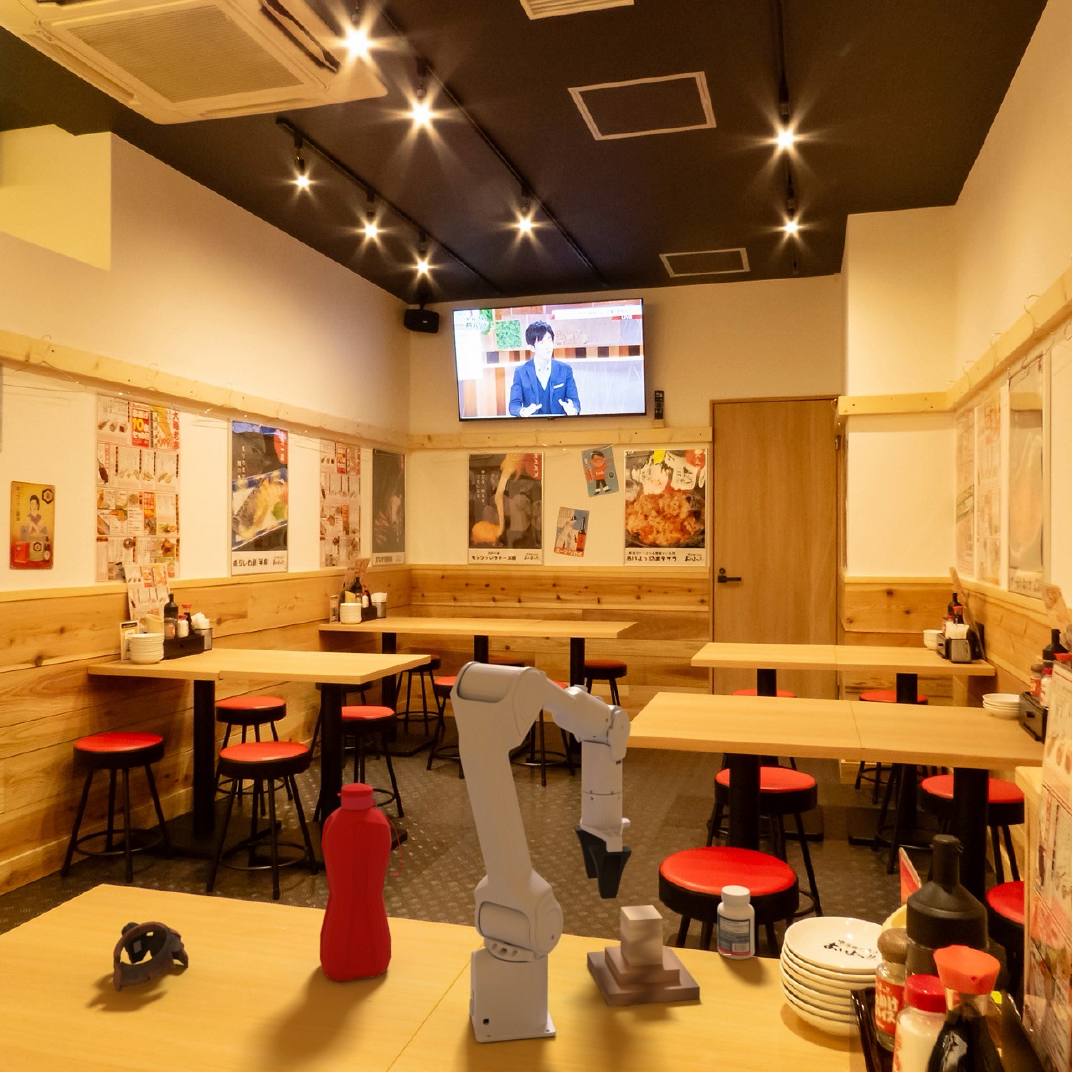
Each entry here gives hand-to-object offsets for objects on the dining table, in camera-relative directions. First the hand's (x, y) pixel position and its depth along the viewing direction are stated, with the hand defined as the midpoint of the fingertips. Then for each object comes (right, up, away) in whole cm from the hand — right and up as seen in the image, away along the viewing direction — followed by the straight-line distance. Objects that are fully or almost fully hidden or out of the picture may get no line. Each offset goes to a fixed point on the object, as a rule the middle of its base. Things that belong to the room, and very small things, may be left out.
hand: (601, 887), depth 124 cm
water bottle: (-33, -10, -2) cm, 35 cm away
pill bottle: (+20, -11, +3) cm, 23 cm away
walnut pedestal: (+5, -10, -5) cm, 13 cm away
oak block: (+5, -7, -5) cm, 10 cm away
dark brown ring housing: (-61, -10, -5) cm, 63 cm away
